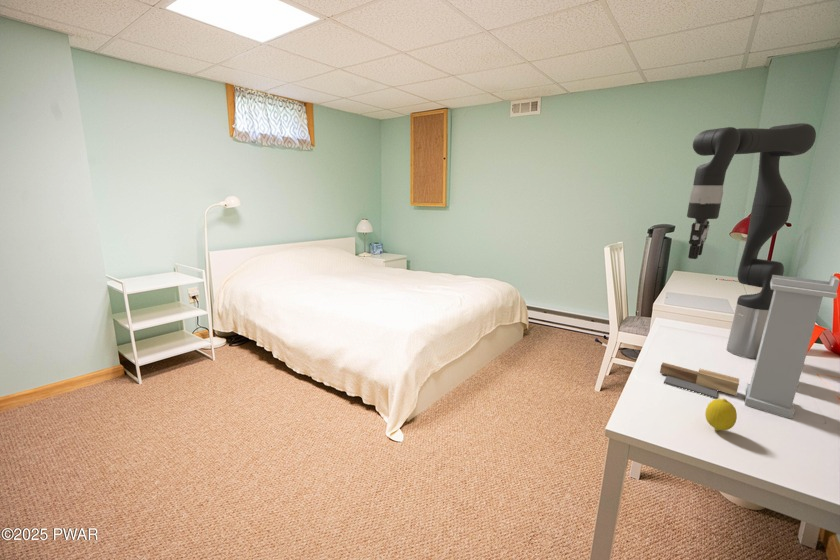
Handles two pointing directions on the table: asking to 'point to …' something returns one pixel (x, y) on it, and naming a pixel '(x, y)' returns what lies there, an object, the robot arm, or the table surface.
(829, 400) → the table surface
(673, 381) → the mat
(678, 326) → the table surface
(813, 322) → the stand
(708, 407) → the lemon
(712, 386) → the bar
